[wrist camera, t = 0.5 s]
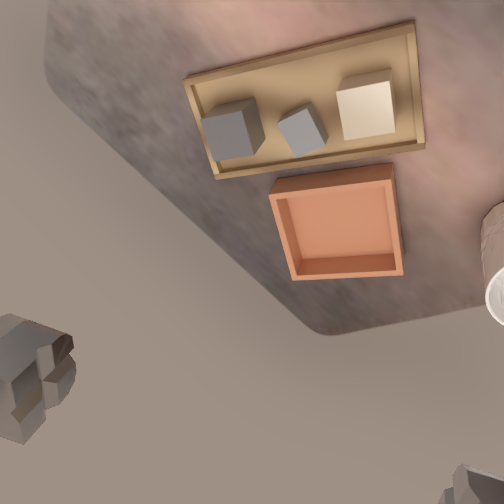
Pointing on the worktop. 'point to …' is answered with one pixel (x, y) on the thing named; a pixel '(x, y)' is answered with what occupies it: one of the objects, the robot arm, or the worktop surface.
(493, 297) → the white cup
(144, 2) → the worktop surface
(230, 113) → the charcoal cube
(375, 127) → the beige cube
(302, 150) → the light grey block
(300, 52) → the oak tray
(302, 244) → the terracotta dish
